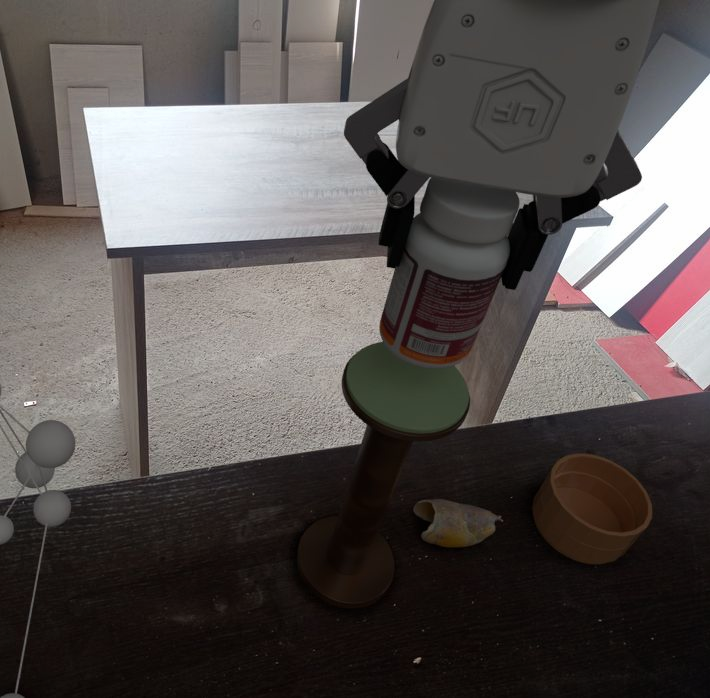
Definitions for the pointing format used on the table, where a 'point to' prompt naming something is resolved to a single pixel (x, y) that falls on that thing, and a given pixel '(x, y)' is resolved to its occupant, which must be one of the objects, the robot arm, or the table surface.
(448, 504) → the cream hollow shell
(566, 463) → the bowl
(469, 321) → the pill bottle
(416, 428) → the coaster
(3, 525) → the molecule model
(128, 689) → the table surface
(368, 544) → the stand
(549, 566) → the table surface
